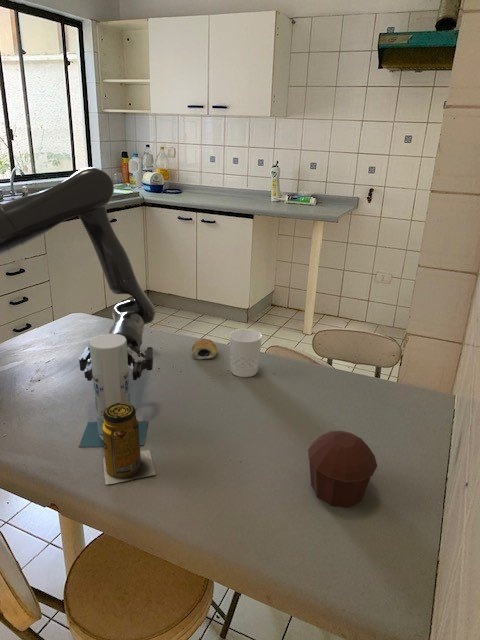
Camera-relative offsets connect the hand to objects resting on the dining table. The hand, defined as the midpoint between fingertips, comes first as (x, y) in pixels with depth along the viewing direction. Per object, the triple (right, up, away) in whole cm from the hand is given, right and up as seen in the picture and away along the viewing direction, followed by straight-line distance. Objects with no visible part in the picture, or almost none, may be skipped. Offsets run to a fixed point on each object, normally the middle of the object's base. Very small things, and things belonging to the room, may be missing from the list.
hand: (111, 376), depth 88 cm
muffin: (+41, -18, -9) cm, 46 cm away
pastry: (+15, +1, +37) cm, 40 cm away
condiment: (+5, -16, -6) cm, 17 cm away
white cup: (+25, -2, +29) cm, 39 cm away
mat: (0, -12, +3) cm, 12 cm away
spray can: (0, -12, +3) cm, 12 cm away
